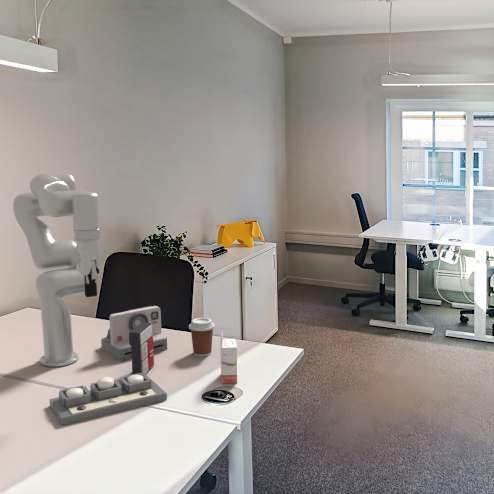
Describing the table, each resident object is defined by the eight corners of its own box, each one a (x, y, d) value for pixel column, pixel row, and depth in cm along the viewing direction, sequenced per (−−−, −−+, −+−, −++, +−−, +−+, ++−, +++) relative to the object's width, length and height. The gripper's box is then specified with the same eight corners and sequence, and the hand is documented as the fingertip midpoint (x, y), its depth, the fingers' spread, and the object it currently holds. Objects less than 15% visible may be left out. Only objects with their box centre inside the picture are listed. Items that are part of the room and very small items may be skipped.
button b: (95, 386, 173) (95, 379, 172) (111, 383, 175) (110, 375, 175) (100, 392, 169) (100, 384, 168) (116, 388, 171) (115, 381, 171)
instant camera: (112, 363, 202) (110, 320, 200) (98, 345, 220) (96, 306, 218) (171, 352, 212) (169, 312, 209) (153, 336, 230) (151, 298, 227)
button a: (64, 398, 168) (64, 390, 168) (81, 394, 171) (80, 386, 170) (69, 404, 165) (68, 395, 164) (85, 400, 167) (85, 392, 166)
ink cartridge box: (238, 383, 183) (237, 338, 181) (222, 384, 183) (221, 338, 180) (236, 372, 192) (235, 329, 189) (220, 373, 191) (219, 329, 189)
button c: (125, 384, 177) (125, 376, 177) (140, 381, 180) (140, 373, 179) (131, 389, 174) (130, 382, 173) (145, 386, 176) (145, 378, 175)
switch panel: (49, 405, 169) (48, 390, 168) (148, 383, 184) (148, 369, 184) (62, 425, 157) (60, 409, 157) (166, 399, 172) (166, 385, 172)
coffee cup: (186, 350, 213) (185, 318, 211) (210, 347, 216) (210, 315, 214) (193, 359, 204) (192, 325, 202) (218, 355, 207) (218, 322, 205)
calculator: (143, 378, 188) (141, 333, 185) (130, 377, 189) (128, 332, 186) (155, 365, 199) (153, 322, 196) (143, 365, 200) (141, 322, 197)
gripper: (67, 232, 177) (71, 292, 180) (81, 239, 164) (85, 303, 168) (92, 230, 181) (96, 289, 184) (108, 237, 168) (111, 299, 171)
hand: (91, 295), depth 176 cm, fingers closed
